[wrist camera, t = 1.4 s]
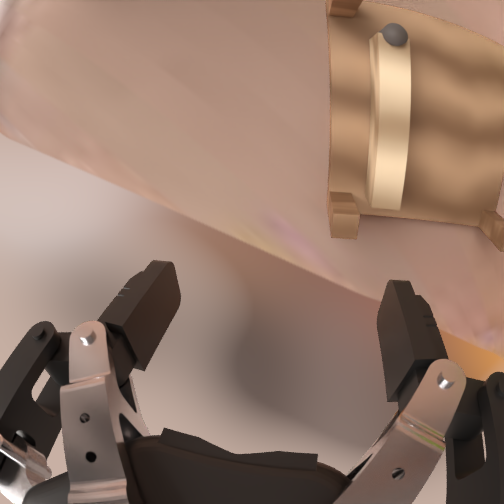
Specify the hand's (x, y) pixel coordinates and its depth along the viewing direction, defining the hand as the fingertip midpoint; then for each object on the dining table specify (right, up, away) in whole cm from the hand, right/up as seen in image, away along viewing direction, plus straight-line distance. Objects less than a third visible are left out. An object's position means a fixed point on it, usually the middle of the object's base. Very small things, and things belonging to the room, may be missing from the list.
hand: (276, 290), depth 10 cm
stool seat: (+15, +14, +10) cm, 23 cm away
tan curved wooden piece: (+10, +13, +9) cm, 19 cm away
